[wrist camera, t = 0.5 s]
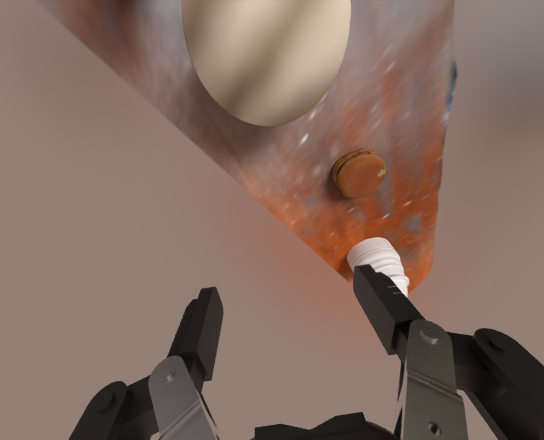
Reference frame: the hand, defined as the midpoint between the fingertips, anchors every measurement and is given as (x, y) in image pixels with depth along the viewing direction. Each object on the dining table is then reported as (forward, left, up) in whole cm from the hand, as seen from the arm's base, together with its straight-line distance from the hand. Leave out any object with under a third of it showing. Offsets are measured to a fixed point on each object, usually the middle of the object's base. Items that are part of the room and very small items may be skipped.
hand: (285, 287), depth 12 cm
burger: (+21, +3, -29) cm, 36 cm away
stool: (-5, +10, -29) cm, 31 cm away
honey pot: (+46, -14, -29) cm, 56 cm away
